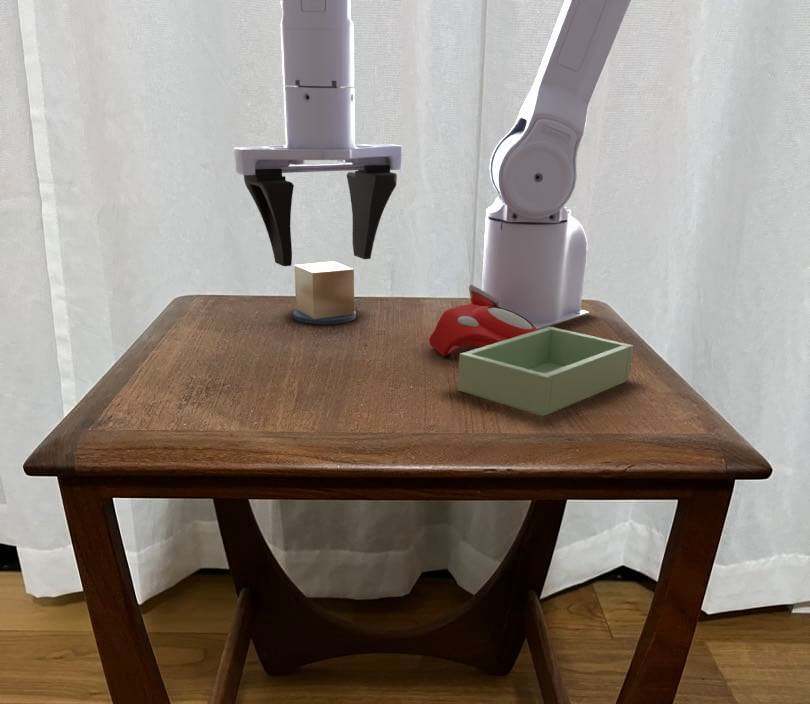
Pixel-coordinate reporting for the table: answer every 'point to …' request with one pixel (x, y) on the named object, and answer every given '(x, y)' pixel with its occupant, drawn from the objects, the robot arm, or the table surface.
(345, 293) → the block
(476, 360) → the tray
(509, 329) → the red curved piece
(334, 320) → the pad
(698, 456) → the table surface
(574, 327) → the table surface
